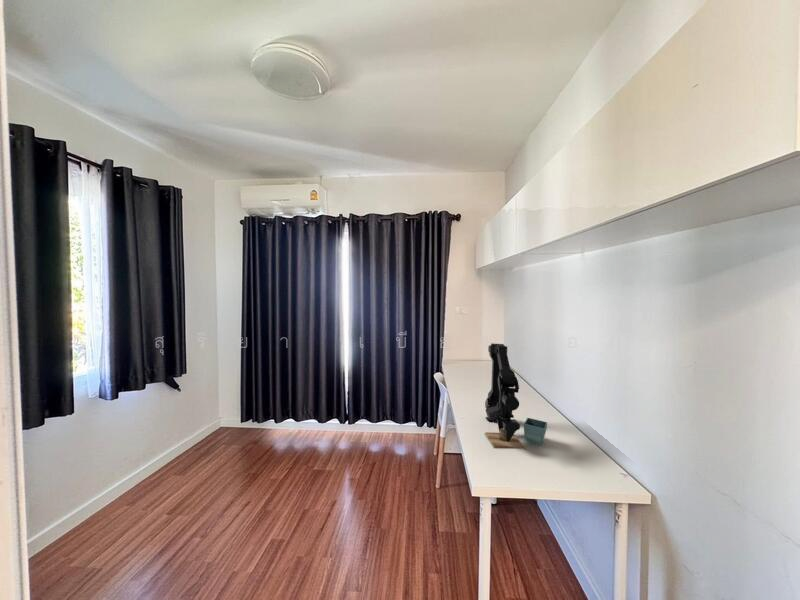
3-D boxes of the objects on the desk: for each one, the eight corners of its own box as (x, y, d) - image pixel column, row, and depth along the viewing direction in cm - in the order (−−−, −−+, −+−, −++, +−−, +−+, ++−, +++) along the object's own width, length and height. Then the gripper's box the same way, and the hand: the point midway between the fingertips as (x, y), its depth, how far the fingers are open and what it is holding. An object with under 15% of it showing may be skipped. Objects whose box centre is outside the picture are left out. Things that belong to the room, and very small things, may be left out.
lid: (485, 434, 158) (485, 423, 157) (512, 434, 158) (513, 424, 158) (494, 447, 145) (494, 436, 144) (524, 448, 145) (524, 437, 145)
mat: (483, 434, 158) (483, 433, 158) (513, 435, 159) (513, 434, 159) (493, 449, 144) (493, 448, 144) (525, 449, 145) (525, 448, 145)
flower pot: (546, 441, 154) (547, 421, 153) (543, 449, 146) (544, 428, 146) (526, 436, 158) (527, 417, 158) (522, 443, 151) (523, 423, 150)
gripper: (481, 394, 159) (480, 427, 160) (495, 409, 141) (493, 446, 142) (505, 395, 160) (503, 427, 161) (521, 410, 142) (519, 446, 142)
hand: (504, 436), depth 152 cm, fingers open, 9 cm apart
